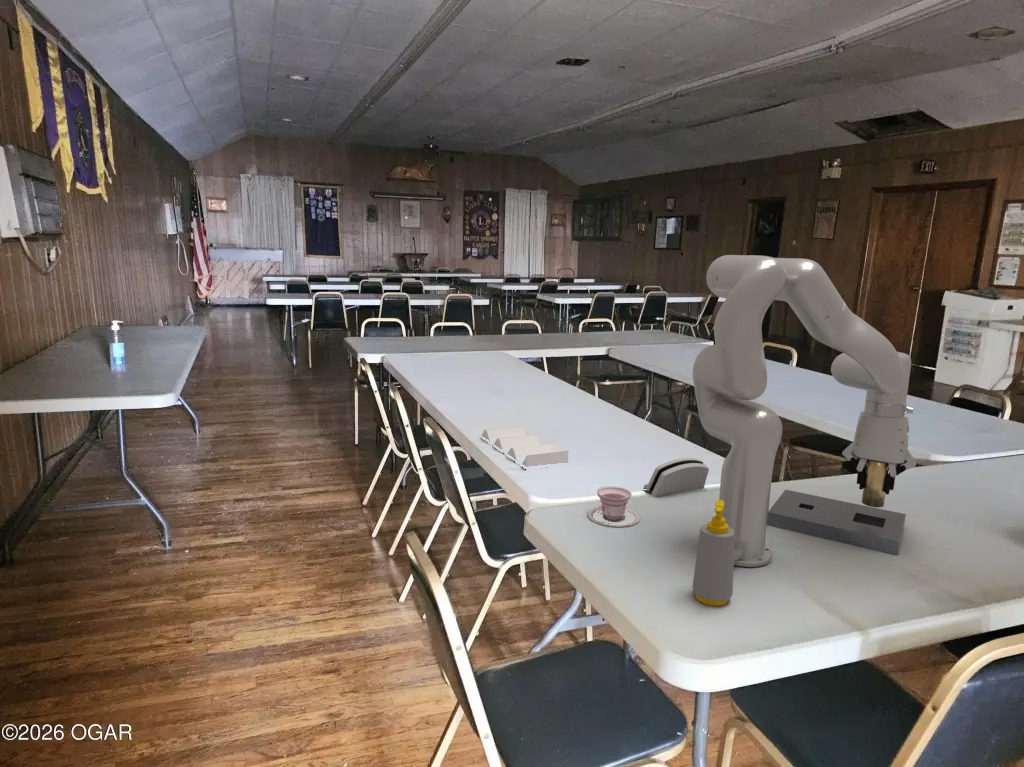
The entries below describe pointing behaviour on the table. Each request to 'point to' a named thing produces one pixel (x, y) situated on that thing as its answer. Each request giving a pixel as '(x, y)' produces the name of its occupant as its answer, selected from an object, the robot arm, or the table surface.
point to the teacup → (613, 505)
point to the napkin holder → (677, 477)
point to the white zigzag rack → (525, 446)
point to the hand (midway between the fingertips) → (874, 489)
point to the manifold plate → (838, 521)
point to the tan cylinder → (875, 483)
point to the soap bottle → (715, 561)
